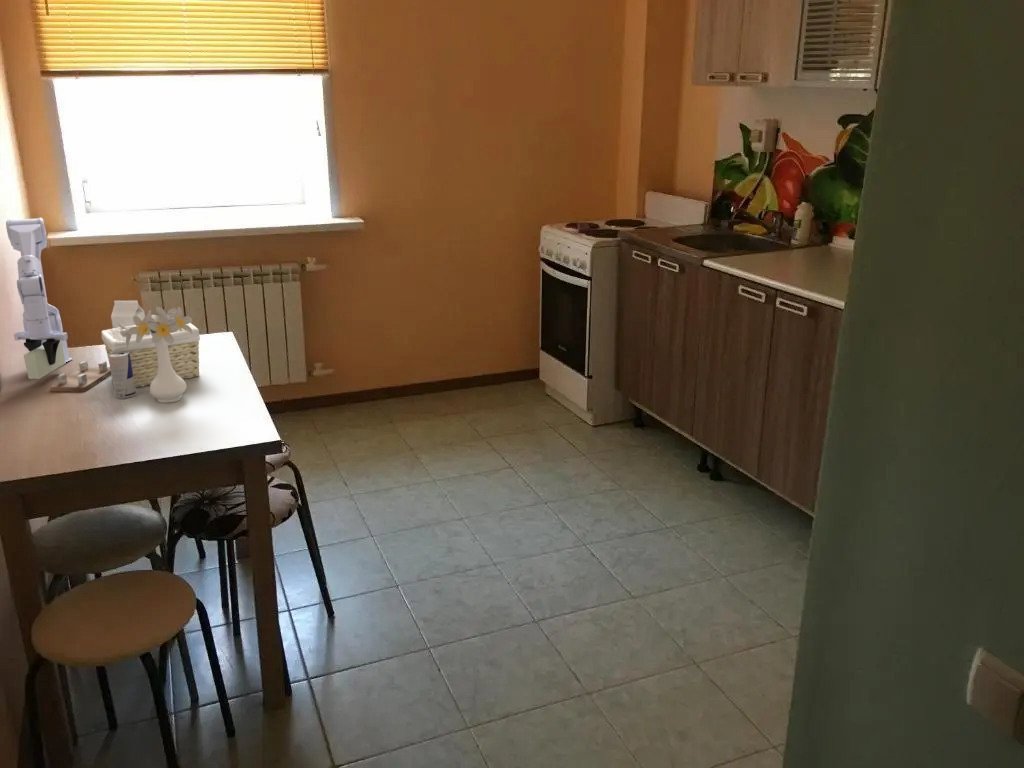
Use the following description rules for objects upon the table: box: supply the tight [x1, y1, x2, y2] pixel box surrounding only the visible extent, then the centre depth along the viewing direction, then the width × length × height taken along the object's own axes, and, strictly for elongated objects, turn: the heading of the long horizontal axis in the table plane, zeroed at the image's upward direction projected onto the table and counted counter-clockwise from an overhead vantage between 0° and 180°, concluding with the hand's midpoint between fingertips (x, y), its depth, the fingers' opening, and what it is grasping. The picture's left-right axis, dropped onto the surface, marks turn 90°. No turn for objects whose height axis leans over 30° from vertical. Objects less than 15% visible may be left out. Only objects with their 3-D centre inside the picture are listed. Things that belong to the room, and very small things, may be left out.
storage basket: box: [100, 322, 201, 389], centre depth 248 cm, size 24×16×15 cm
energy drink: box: [108, 351, 137, 400], centre depth 233 cm, size 5×5×12 cm
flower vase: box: [117, 306, 193, 404], centre depth 228 cm, size 13×18×25 cm
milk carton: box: [110, 300, 146, 329], centre depth 262 cm, size 7×7×19 cm
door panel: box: [23, 341, 67, 380], centre depth 247 cm, size 14×3×7 cm, turn 177°
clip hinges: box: [56, 360, 108, 385], centre depth 247 cm, size 14×7×2 cm, turn 177°
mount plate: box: [49, 366, 111, 392], centre depth 247 cm, size 18×10×1 cm, turn 177°
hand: (46, 363), depth 248 cm, fingers closed on door panel, 3 cm apart
